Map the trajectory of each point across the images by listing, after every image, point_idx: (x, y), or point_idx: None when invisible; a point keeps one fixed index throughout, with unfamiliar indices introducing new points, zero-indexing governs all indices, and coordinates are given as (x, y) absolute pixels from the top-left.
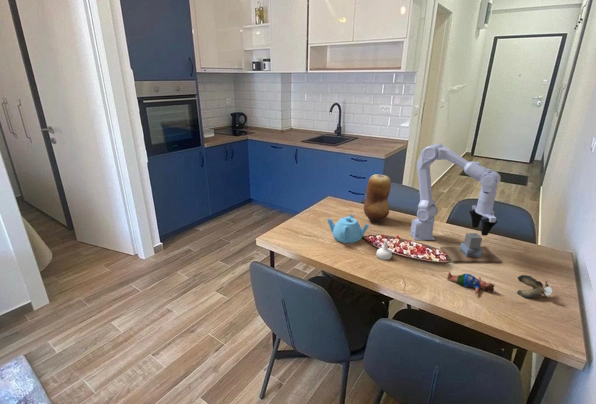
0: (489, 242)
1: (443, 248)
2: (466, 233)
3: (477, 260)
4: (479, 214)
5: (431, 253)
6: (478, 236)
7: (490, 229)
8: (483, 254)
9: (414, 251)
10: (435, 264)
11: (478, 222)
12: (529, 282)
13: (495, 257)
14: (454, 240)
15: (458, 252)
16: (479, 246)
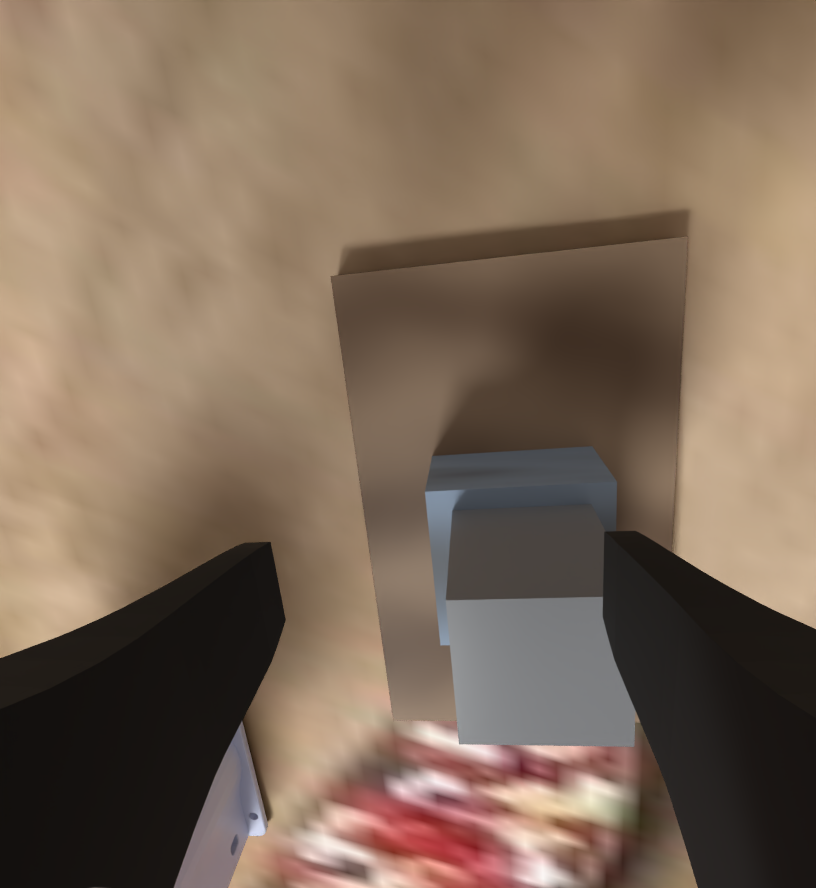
0: (155, 138)
1: (428, 711)
2: (469, 743)
3: (669, 511)
4: (60, 828)
5: (490, 791)
6: (581, 626)
7: (739, 599)
8: (533, 389)
9: (465, 882)
10: (675, 824)
11: (214, 608)
12: None
13: (606, 278)
14: (197, 524)
15: None
16: (598, 526)
